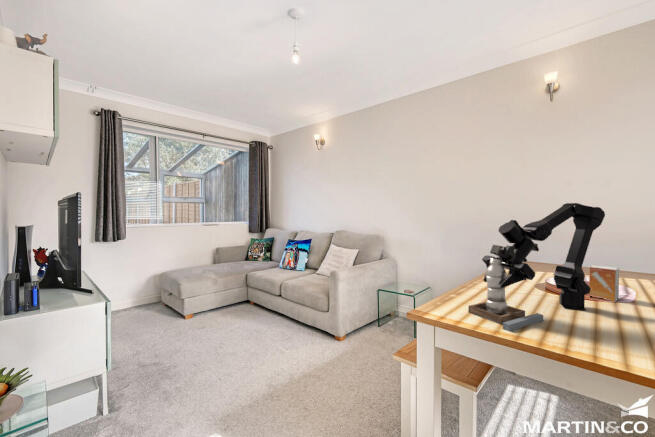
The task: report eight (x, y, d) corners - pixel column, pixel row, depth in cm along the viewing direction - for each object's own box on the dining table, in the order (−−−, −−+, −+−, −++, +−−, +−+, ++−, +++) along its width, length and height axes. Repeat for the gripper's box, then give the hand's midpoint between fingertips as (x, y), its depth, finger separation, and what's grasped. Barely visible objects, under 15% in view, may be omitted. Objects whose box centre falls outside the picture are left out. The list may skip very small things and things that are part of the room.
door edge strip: (536, 318, 99) (536, 313, 99) (543, 320, 97) (543, 314, 97) (502, 328, 91) (502, 322, 91) (509, 331, 89) (509, 324, 89)
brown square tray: (491, 306, 111) (491, 300, 111) (525, 317, 100) (525, 310, 100) (468, 312, 106) (468, 305, 106) (501, 324, 94) (501, 317, 94)
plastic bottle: (506, 318, 98) (506, 260, 98) (484, 314, 102) (483, 258, 102) (508, 312, 103) (508, 257, 103) (487, 309, 107) (486, 256, 107)
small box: (588, 297, 120) (588, 266, 120) (592, 294, 124) (593, 264, 123) (615, 302, 114) (616, 269, 113) (619, 299, 117) (619, 267, 117)
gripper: (486, 234, 112) (461, 264, 110) (528, 239, 94) (499, 275, 92) (503, 253, 114) (479, 283, 112) (548, 262, 95) (519, 297, 94)
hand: (492, 284), depth 102 cm, fingers open, 8 cm apart
